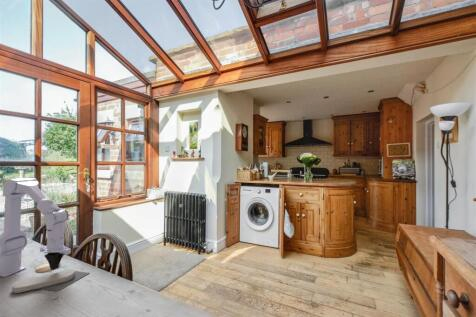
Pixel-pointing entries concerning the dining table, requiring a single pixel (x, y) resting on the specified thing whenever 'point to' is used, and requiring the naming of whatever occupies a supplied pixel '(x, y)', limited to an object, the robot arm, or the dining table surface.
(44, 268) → the coaster
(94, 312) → the dining table surface
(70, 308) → the dining table surface
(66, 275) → the beige flat oblong piece
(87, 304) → the dining table surface
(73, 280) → the mat
